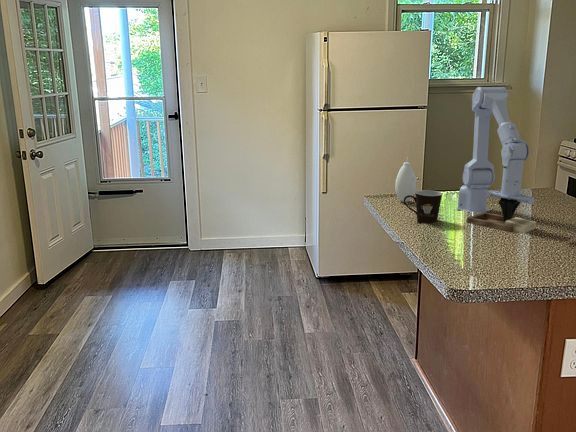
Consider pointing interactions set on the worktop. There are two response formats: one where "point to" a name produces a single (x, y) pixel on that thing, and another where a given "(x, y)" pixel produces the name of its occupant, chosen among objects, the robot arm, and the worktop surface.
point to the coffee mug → (426, 205)
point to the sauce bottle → (405, 182)
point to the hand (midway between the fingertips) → (507, 221)
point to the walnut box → (490, 221)
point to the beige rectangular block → (521, 224)
